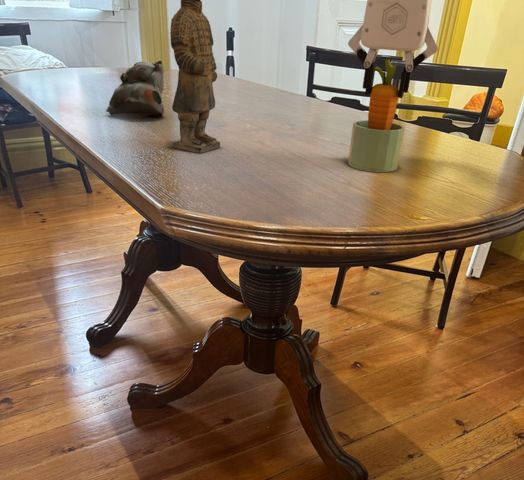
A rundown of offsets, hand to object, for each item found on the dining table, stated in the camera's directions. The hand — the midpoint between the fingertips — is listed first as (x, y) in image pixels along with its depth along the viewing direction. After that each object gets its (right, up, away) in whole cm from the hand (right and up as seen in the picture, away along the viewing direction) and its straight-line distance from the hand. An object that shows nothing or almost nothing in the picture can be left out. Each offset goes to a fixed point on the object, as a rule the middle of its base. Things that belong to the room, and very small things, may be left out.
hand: (384, 94), depth 89 cm
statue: (-34, -5, +12) cm, 36 cm away
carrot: (0, -8, +6) cm, 10 cm away
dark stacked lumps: (-51, +13, +36) cm, 64 cm away
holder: (-1, -10, +7) cm, 12 cm away
